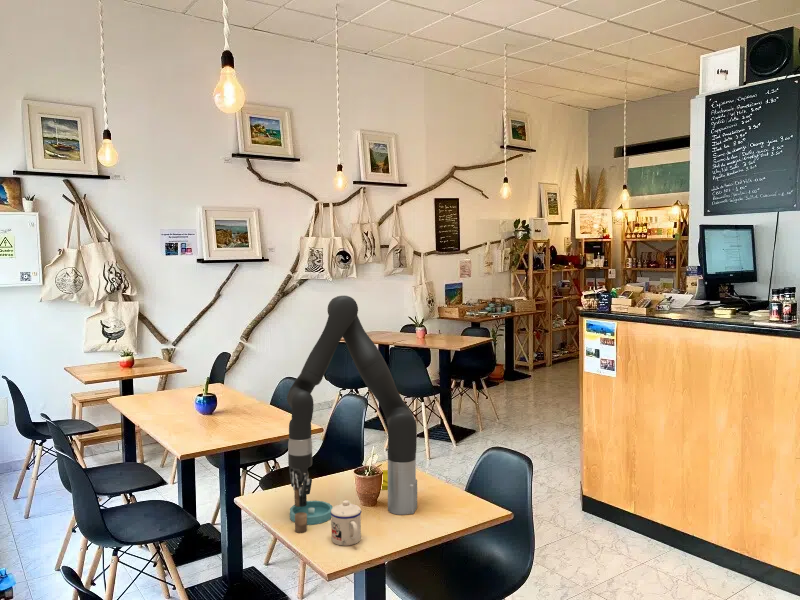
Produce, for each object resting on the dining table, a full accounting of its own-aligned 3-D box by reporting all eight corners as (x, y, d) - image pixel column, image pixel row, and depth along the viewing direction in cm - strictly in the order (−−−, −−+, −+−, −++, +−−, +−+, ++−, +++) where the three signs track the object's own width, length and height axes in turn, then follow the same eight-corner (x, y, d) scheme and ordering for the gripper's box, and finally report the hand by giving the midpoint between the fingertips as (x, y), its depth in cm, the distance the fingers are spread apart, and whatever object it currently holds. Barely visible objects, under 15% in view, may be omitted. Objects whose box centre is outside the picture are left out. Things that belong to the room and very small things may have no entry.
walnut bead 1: (303, 501, 207) (303, 486, 207) (307, 505, 204) (307, 490, 204) (292, 503, 205) (292, 488, 205) (297, 507, 202) (297, 492, 202)
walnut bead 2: (308, 528, 197) (308, 512, 197) (304, 533, 194) (304, 517, 193) (297, 527, 198) (297, 511, 198) (293, 532, 195) (292, 516, 194)
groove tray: (338, 509, 212) (338, 502, 212) (323, 526, 198) (323, 519, 198) (300, 506, 215) (299, 499, 215) (283, 522, 202) (282, 515, 202)
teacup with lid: (326, 536, 192) (325, 498, 191) (354, 530, 196) (353, 493, 195) (341, 553, 181) (341, 513, 180) (370, 546, 185) (370, 507, 184)
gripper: (320, 455, 199) (320, 509, 201) (302, 443, 212) (303, 494, 213) (297, 459, 196) (297, 514, 197) (281, 447, 208) (281, 498, 209)
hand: (300, 503), depth 205 cm, fingers closed on walnut bead 1, 3 cm apart
